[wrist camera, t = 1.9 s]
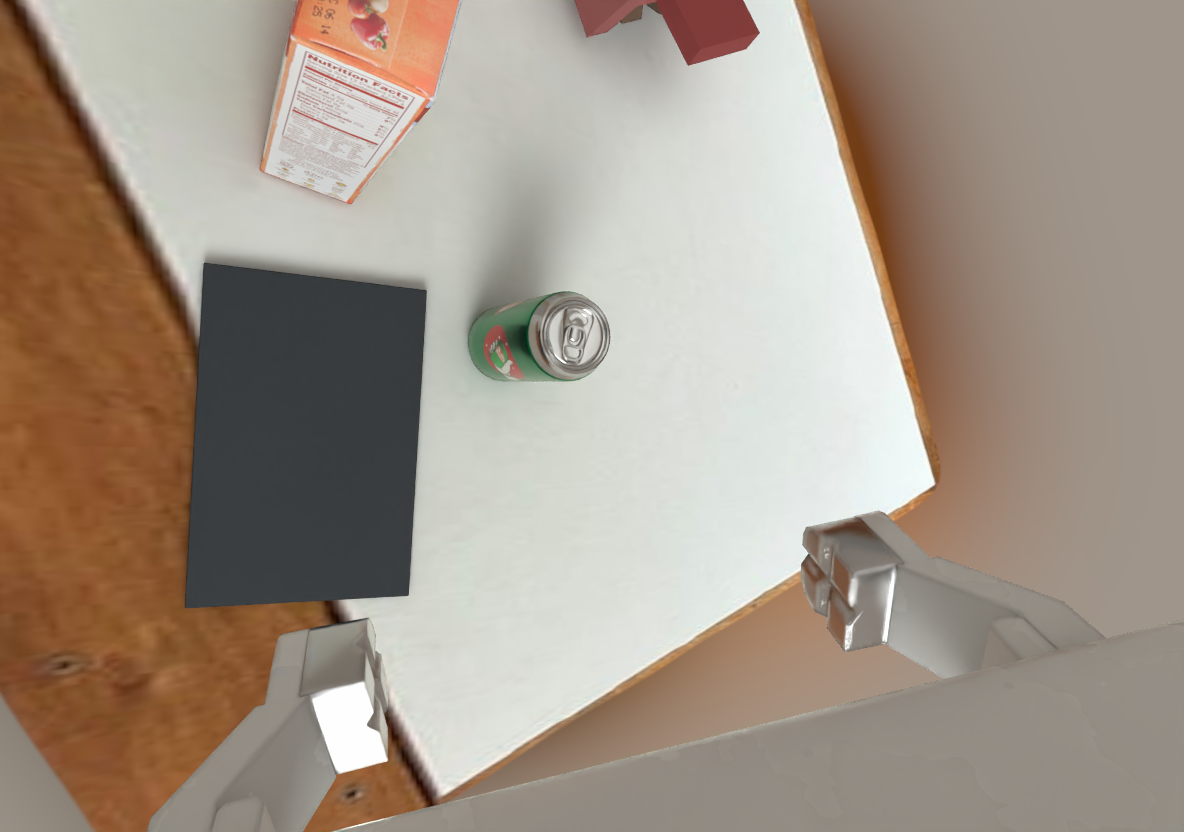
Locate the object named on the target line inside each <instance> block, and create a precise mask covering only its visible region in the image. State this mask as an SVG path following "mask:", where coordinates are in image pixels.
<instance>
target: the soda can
mask: <svg viewBox="0 0 1184 832" xmlns="http://www.w3.org/2000/svg"><path fill="white" fill-rule="evenodd" d="M609 344H610V329H609V325H608V322H607V319H606V317H605V315H604V313H603V312H602V311H601V309H600V308H599V307H598V306H597V305H596V304H594V303H593V302H592V301H590V300H589V299H588V298H586V297H584V296H583V295H580V294H578V293H575V292H566V291H563V292H557V293H552V294H548V295H544V296H540V297H536V298H532V299H528V300H524V301H520V302H516V303H511V304H507V305H503V306H499V307H495V308H492V309H489V310H487V311H485V312H484V313H483V314H481V315H480V316H479V317H478V318H477V319H476V321H475V322H474V324H473V326H472V328H471V330H470V334H469V340H468V345H469V352H470V355H471V358H472V360H473V362H474V364H475V365H476V367H477V368H478V369H479V370H480V371H481V372H482V373H483V374H484V375H486V376H487V377H490V378H492V379H495V380H499V381H575V380H579V379H581V378H584V377H586V376H587V375H589V374H590V373H592V372H593V371H594V370H595V369H596V368H597V366H598V365H599V364H600V363H601V362H602V360H603V359H604V357H605V356H606V354H607V351H608V348H609Z"/></svg>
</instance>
